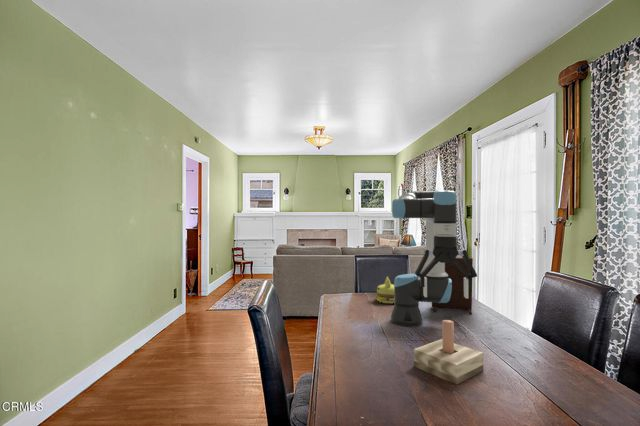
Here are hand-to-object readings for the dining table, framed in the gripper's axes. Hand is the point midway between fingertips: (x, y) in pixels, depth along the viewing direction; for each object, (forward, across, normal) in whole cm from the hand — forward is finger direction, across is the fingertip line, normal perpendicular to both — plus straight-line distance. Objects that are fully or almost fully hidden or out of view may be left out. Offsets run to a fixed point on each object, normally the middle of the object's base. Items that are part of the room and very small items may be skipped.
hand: (445, 296), depth 117 cm
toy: (+25, -14, +90) cm, 94 cm away
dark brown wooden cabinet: (+25, +19, +73) cm, 80 cm away
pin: (+22, 0, -2) cm, 22 cm away
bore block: (+24, 0, -2) cm, 24 cm away
